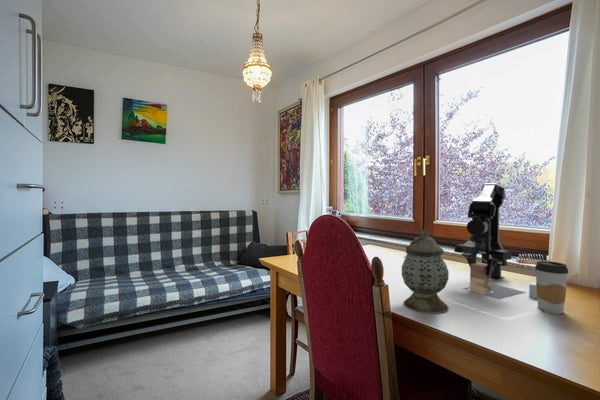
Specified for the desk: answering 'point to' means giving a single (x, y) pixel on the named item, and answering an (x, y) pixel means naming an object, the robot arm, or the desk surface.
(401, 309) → the desk surface
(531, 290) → the block
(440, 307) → the lantern
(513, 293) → the build mat
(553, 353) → the desk surface
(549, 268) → the coffee cup
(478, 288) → the oak block
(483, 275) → the walnut block
